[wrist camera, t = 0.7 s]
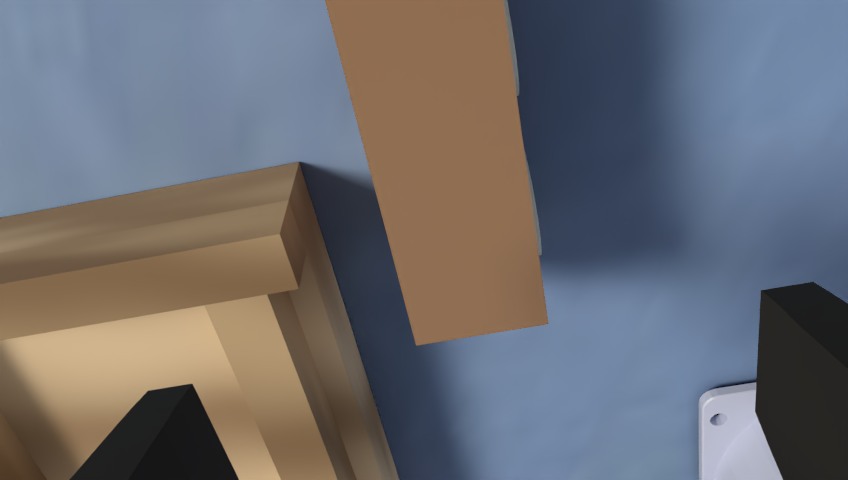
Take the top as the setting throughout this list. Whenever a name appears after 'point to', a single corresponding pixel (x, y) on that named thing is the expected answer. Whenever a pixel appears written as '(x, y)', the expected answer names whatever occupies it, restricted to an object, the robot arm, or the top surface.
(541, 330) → the top surface
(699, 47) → the top surface
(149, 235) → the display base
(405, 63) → the tan wooden post
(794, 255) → the top surface
